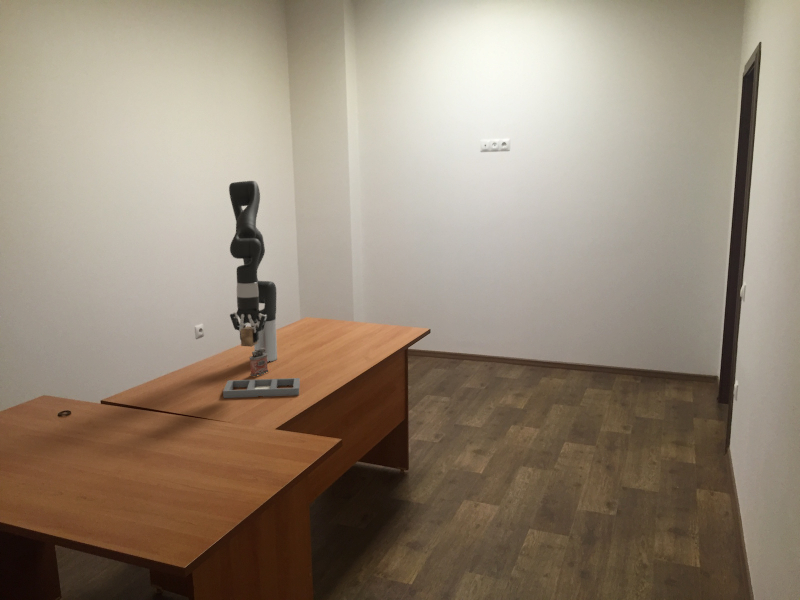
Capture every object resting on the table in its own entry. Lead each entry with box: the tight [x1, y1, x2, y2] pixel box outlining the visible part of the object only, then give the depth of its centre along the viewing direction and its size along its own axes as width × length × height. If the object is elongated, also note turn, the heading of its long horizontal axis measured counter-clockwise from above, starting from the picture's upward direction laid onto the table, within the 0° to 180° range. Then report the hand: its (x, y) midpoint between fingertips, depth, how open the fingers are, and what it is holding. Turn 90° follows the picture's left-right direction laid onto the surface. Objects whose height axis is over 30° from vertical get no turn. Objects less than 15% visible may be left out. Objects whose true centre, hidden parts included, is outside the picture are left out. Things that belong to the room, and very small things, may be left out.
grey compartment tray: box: [222, 377, 301, 399], centre depth 230 cm, size 12×26×2 cm, turn 97°
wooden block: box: [240, 325, 258, 347], centre depth 229 cm, size 4×5×6 cm
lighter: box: [249, 348, 269, 377], centre depth 249 cm, size 8×3×10 cm, turn 143°
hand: (249, 341), depth 230 cm, fingers closed on wooden block, 4 cm apart
